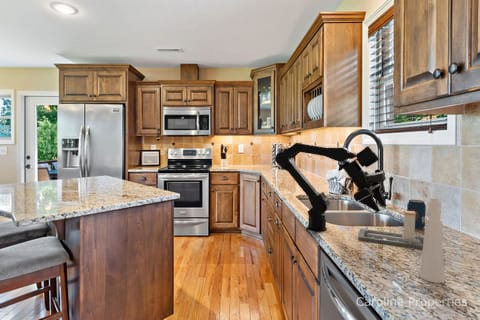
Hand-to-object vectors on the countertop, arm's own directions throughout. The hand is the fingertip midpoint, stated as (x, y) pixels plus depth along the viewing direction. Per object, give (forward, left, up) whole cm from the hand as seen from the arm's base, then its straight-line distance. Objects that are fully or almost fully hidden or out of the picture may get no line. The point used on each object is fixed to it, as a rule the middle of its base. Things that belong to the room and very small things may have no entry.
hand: (381, 207), depth 105 cm
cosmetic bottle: (+23, -22, -12) cm, 34 cm away
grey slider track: (+4, +2, -12) cm, 13 cm away
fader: (+8, +4, -11) cm, 14 cm away
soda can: (+2, +28, -12) cm, 31 cm away
